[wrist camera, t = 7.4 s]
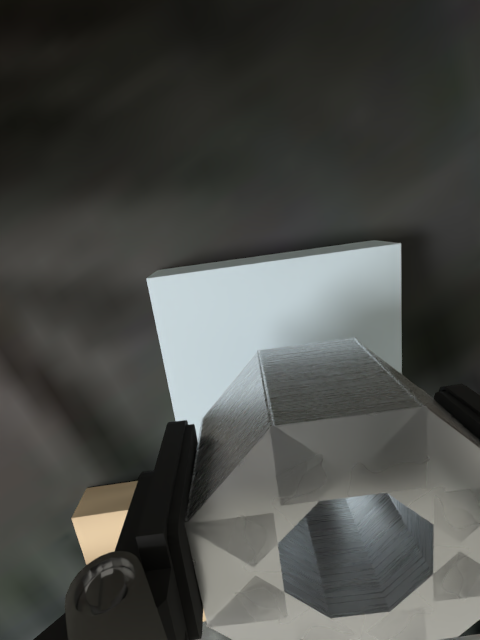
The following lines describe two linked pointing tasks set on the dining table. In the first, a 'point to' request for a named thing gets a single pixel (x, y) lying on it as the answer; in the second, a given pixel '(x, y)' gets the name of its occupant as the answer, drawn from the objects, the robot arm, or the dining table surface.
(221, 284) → the peg base
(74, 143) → the dining table surface
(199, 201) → the dining table surface
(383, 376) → the ring
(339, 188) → the dining table surface
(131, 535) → the robot arm
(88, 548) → the stand
